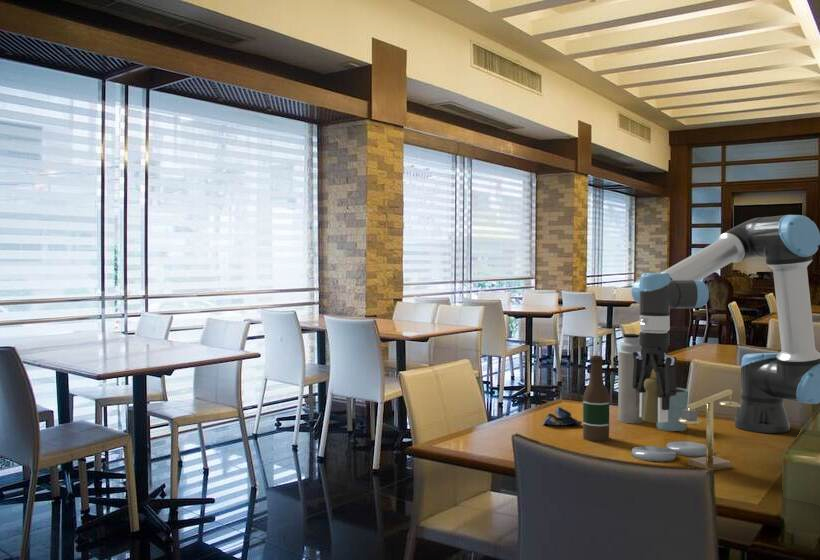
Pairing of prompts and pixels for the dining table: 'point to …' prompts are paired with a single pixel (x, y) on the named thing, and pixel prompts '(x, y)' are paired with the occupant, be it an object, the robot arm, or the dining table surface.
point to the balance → (708, 429)
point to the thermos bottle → (628, 381)
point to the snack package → (560, 418)
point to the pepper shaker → (651, 400)
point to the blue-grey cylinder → (675, 411)
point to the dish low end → (653, 453)
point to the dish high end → (687, 448)
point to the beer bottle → (596, 405)
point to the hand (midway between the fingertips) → (653, 419)
